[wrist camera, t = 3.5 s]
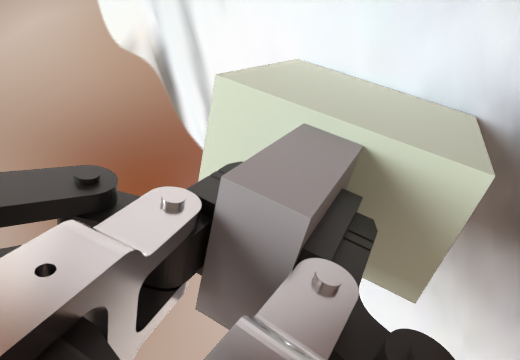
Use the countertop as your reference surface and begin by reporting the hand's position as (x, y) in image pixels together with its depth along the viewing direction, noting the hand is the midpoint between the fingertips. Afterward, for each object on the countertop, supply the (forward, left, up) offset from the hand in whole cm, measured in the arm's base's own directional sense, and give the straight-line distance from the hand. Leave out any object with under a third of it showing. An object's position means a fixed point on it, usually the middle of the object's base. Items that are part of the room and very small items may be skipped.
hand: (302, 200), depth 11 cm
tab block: (0, 0, -9) cm, 9 cm away
